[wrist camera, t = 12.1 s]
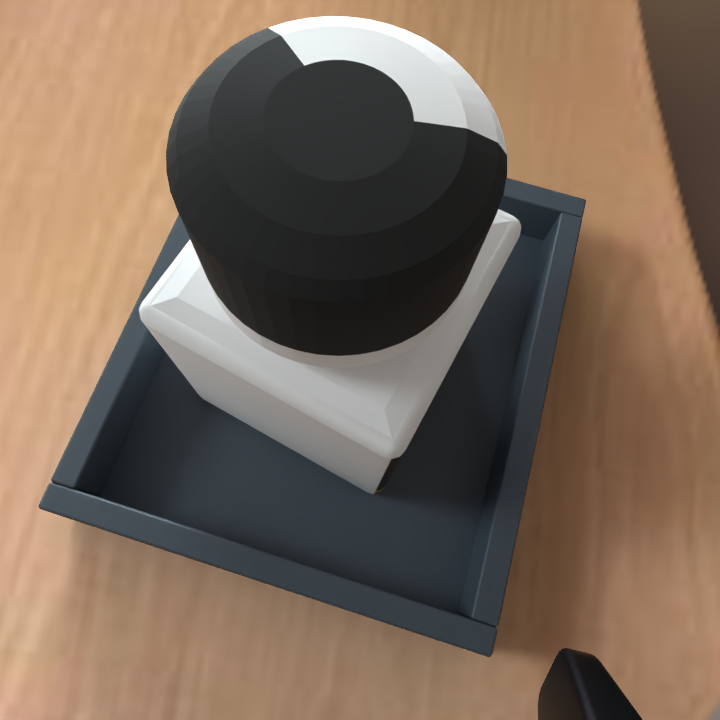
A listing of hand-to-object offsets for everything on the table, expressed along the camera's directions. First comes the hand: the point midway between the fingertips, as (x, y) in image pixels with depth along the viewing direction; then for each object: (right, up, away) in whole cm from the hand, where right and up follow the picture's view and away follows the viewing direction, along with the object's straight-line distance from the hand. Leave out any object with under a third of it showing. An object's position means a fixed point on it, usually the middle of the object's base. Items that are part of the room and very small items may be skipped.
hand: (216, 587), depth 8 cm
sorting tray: (+1, +3, +14) cm, 14 cm away
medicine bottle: (+1, +3, +14) cm, 14 cm away
